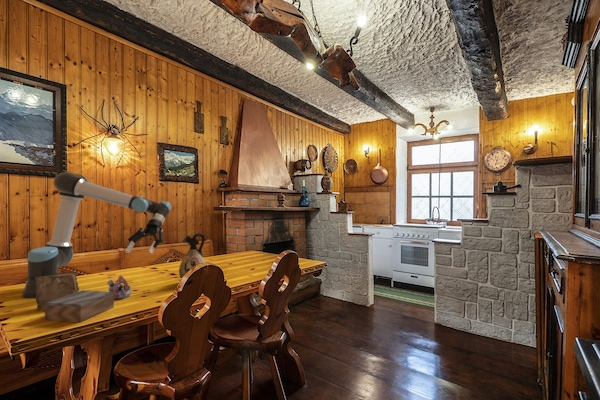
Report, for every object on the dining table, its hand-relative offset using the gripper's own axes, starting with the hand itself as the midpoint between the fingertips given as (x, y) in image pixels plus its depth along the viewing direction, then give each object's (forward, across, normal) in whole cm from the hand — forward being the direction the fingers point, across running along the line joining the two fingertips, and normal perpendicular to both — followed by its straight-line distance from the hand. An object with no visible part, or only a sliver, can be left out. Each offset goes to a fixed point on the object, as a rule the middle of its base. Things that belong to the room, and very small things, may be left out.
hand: (138, 252), depth 159 cm
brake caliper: (+24, +1, -6) cm, 24 cm away
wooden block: (+39, +1, +10) cm, 40 cm away
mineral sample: (+36, +18, +7) cm, 40 cm away
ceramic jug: (+3, -23, -27) cm, 36 cm away
